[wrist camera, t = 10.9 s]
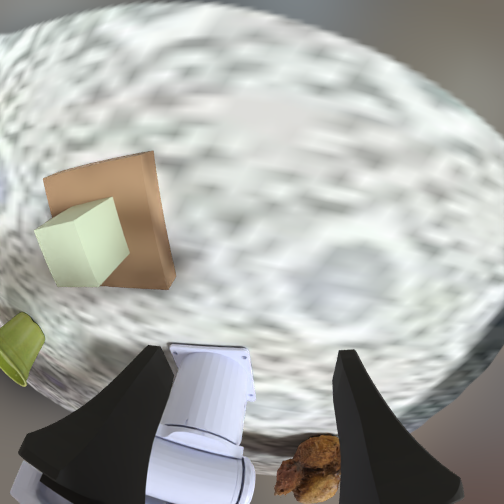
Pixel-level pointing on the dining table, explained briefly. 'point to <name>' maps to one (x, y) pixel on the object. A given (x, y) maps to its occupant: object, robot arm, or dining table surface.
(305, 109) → the dining table surface
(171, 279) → the tan block
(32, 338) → the plant pot
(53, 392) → the dining table surface
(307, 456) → the seed pod
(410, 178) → the dining table surface
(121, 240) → the sage cube
